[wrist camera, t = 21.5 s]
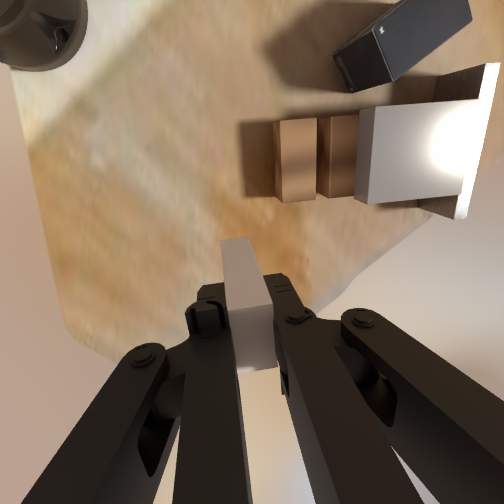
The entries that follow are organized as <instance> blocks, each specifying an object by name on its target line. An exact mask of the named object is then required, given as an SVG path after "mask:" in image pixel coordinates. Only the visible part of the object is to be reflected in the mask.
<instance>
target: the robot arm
mask: <svg viewBox="0 0 504 504" xmlns="http://www.w3.org/2000/svg"><path fill="white" fill-rule="evenodd" d="M87 21H88V9H87V1H86V0H0V62H1V63H5V64H7V65H10V66H12V67H15V68H18V69H22V70H27V71H48V70H52V69H55V68H58V67H60V66H62V65H64V64H65V63H67V62H68V61H69V60H70V59H71V58H72V57H73V56H74V55H75V54H76V53H77V51H78V50H79V48H80V47H81V44H82V42H83V40H84V37H85V34H86V29H87ZM221 251H222V262H223V273H224V282H222V283H216V284H209V285H203V286H202V287H201V288H200V290H199V291H198V293H197V302H195V303H193V304H192V305H190V306H189V307H188V308H187V310H186V312H185V317H186V321H187V325H188V330H189V334H190V336H189V338H188V339H187V340H186V341H184V342H183V343H181V344H179V345H177V346H175V347H172V348H170V349H167V350H165V347H164V346H163V345H161V344H159V343H146V344H142V345H140V346H137V347H135V348H134V349H132V350H130V351H129V352H128V353H127V354H126V355H125V356H124V357H123V358H122V360H121V361H120V362H119V364H118V365H117V367H116V368H115V370H114V371H113V372H112V374H111V375H110V377H109V378H108V380H107V381H106V383H105V384H104V385H103V387H102V388H101V390H100V391H99V393H98V394H97V395H96V397H95V398H94V400H93V401H92V402H91V404H90V405H89V407H88V408H87V410H86V411H85V413H84V414H83V415H82V417H81V418H80V420H79V421H78V423H77V424H76V426H75V427H74V428H73V430H72V431H71V433H70V434H69V436H68V437H67V438H66V440H65V441H64V443H63V444H62V445H61V447H60V448H59V450H58V451H57V453H56V454H55V455H54V457H53V458H52V460H51V461H50V463H49V464H48V465H47V467H46V468H45V470H44V471H43V473H42V474H41V475H40V477H39V478H38V480H37V481H36V483H35V484H34V486H33V487H32V488H31V490H30V491H29V493H28V494H27V495H26V497H25V498H24V500H23V501H22V503H21V504H153V501H154V499H155V495H156V493H157V490H158V487H159V484H160V481H161V478H162V475H163V472H164V470H165V467H166V464H167V461H168V458H169V455H170V452H171V450H172V447H173V444H174V441H175V438H176V435H177V432H178V429H179V427H180V433H179V442H178V452H177V462H176V472H175V481H174V491H173V500H172V504H253V501H252V492H251V483H250V475H249V466H248V457H247V449H246V440H245V432H244V423H243V416H242V406H241V397H240V389H239V381H238V375H237V374H241V373H247V372H252V371H257V370H263V369H269V368H275V367H278V363H279V366H280V377H281V391H282V395H284V394H285V396H286V400H287V403H288V407H289V410H290V414H291V418H292V421H293V425H294V428H295V432H296V435H297V438H298V442H299V446H300V449H301V453H302V457H303V460H304V464H305V467H306V471H307V474H308V478H309V481H310V485H311V488H312V492H313V495H314V499H315V503H316V504H424V503H423V501H422V499H421V497H420V495H419V494H418V492H417V490H416V489H415V487H414V485H413V483H412V482H411V480H410V478H409V476H408V475H407V473H406V471H405V469H404V468H403V466H402V464H401V463H400V461H399V459H398V457H397V456H396V454H395V452H394V451H393V449H394V450H395V451H396V452H397V453H398V455H399V456H400V457H401V458H402V459H403V460H404V462H405V463H406V464H407V465H408V466H409V468H410V469H411V470H412V471H413V472H414V474H415V475H416V476H417V477H418V478H419V479H420V481H421V482H422V483H423V484H424V485H425V487H426V488H427V489H428V490H429V491H430V492H431V494H432V495H433V496H434V497H435V498H436V500H437V501H438V502H439V503H440V504H504V401H503V400H501V399H500V398H498V397H497V396H495V395H494V394H493V393H491V392H490V391H488V390H487V389H485V388H484V387H482V386H481V385H480V384H478V383H477V382H475V381H474V380H472V379H471V378H470V377H468V376H467V375H465V374H464V373H463V372H461V371H460V370H458V369H457V368H456V367H454V366H453V365H451V364H450V363H448V362H447V361H446V360H444V359H443V358H441V357H440V356H438V355H437V354H436V353H434V352H432V351H431V350H430V349H428V348H427V347H426V346H424V345H423V344H421V343H420V342H418V341H417V340H416V339H414V338H413V337H411V336H410V335H408V334H407V333H406V332H404V331H403V330H401V329H400V328H398V327H397V326H396V325H394V324H393V323H391V322H390V321H388V320H387V319H385V318H384V317H383V316H381V315H380V314H378V313H376V312H374V311H372V310H368V309H365V308H354V309H349V310H347V311H345V312H344V313H343V314H342V316H341V320H326V319H321V318H317V317H316V315H315V313H314V312H313V311H312V310H310V309H308V308H306V307H304V306H303V304H302V302H301V300H300V298H299V296H298V295H297V293H296V291H295V290H294V287H293V285H292V283H291V282H290V280H289V278H288V277H287V276H285V275H283V274H282V273H277V274H271V275H264V276H263V275H262V273H261V270H260V267H259V264H258V262H257V259H256V256H255V254H254V251H253V248H252V245H251V243H250V240H249V237H242V238H235V239H227V240H221ZM277 360H278V363H277ZM391 446H392V447H393V449H392V447H391Z"/></svg>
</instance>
